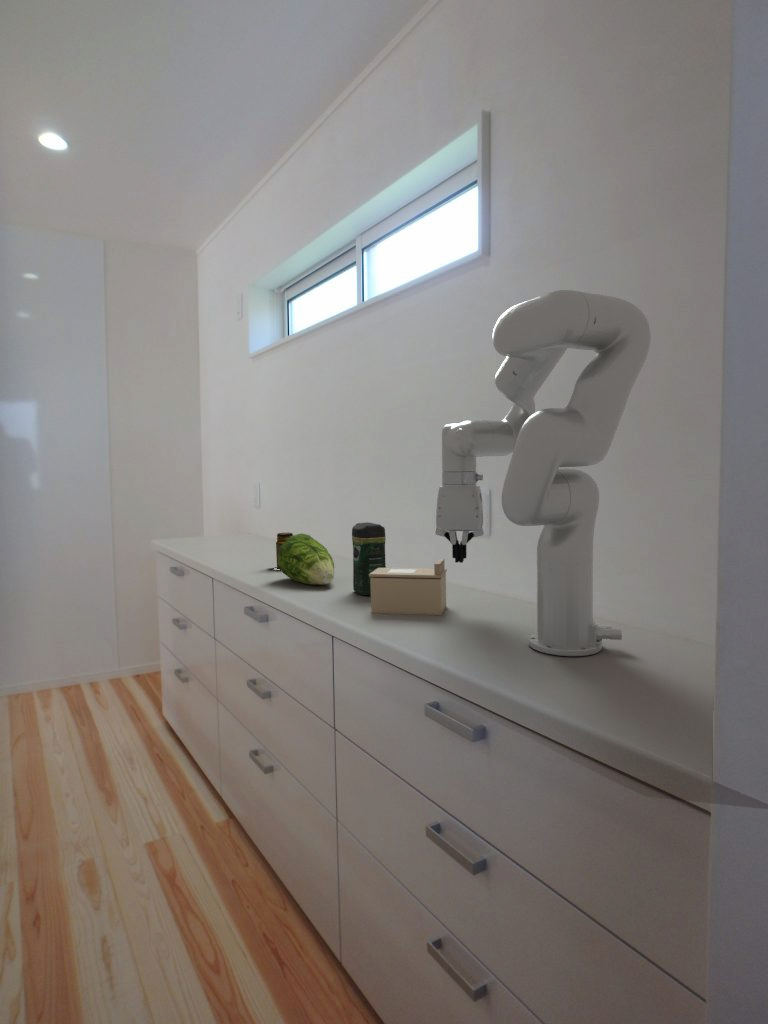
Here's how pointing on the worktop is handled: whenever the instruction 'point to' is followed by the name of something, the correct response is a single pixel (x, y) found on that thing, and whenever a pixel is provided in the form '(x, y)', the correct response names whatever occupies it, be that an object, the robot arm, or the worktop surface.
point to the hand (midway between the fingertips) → (459, 561)
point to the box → (408, 595)
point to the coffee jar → (367, 554)
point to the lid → (412, 571)
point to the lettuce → (306, 560)
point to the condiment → (280, 540)
